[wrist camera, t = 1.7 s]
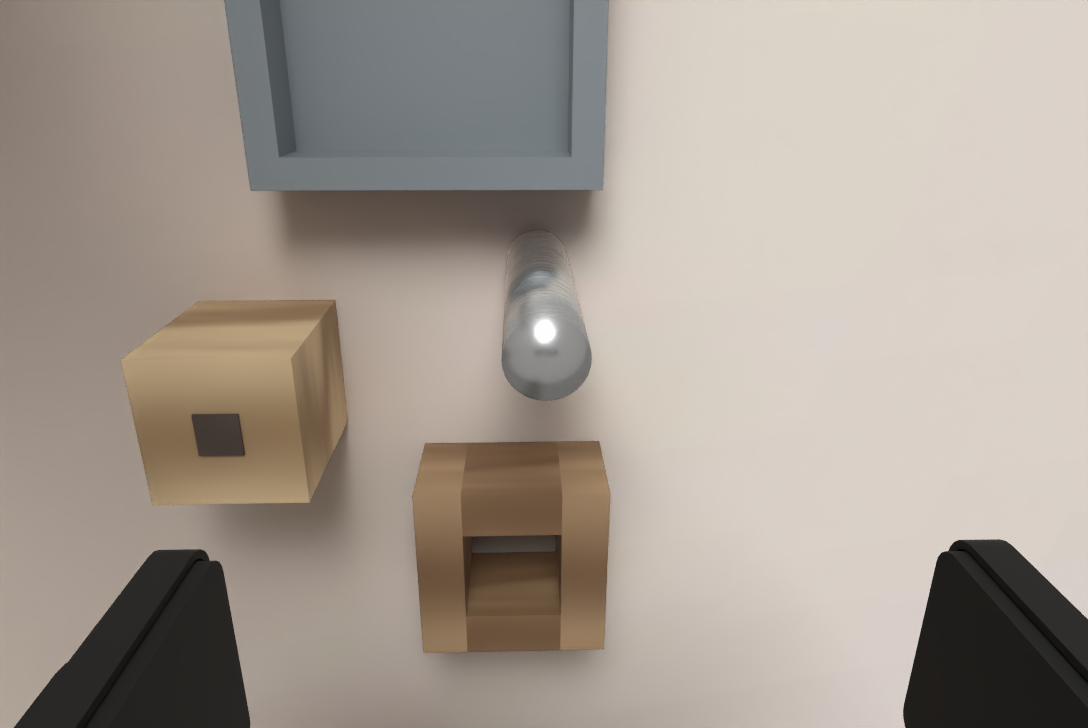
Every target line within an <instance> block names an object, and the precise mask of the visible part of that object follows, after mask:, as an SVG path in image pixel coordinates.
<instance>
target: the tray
mask: <svg viewBox="0 0 1088 728" xmlns="http://www.w3.org/2000/svg"><path fill="white" fill-rule="evenodd" d="M224 2H225V9H226V16H227V24H228V31H229V38H230V45H231V53H232V60H233V67H234V74H235V81H236V89H237V96H238V103H239V110H240V117H241V125H242V132H243V139H244V146H245V154H246V161H247V168H248V175H249V182H250V190H251V191H296V190H603V163H604V131H605V99H606V67H607V35H608V3H609V0H224Z"/></svg>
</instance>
